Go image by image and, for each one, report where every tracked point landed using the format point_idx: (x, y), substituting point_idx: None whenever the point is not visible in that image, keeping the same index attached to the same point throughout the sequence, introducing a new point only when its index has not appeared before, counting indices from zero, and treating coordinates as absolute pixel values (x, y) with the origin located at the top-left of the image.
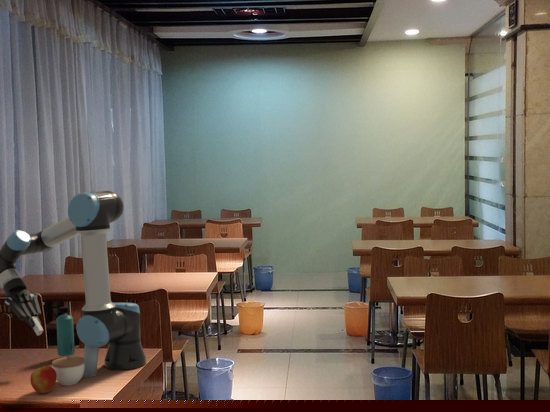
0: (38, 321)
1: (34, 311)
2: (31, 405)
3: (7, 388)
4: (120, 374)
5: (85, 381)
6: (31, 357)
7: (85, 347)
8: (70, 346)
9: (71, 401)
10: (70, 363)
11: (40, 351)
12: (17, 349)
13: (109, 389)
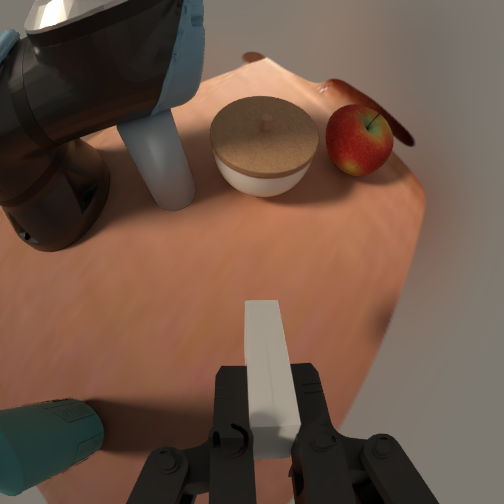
0: (249, 368)
1: (227, 495)
2: (394, 126)
3: (401, 268)
4: None
5: None
6: None
7: (172, 126)
8: (61, 402)
9: (329, 88)
10: (283, 102)
11: None
12: None
13: (235, 83)
